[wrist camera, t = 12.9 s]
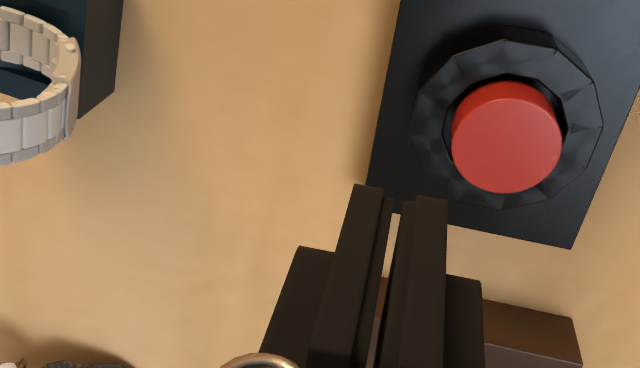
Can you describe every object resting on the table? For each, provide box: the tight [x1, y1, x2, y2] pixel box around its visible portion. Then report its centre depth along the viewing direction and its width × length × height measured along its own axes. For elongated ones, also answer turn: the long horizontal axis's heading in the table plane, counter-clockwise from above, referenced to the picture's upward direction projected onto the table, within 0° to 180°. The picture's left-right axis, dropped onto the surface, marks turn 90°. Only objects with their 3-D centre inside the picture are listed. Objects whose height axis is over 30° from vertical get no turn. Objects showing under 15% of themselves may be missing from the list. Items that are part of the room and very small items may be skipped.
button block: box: [365, 0, 640, 250], centre depth 23 cm, size 11×9×4 cm
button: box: [451, 80, 562, 193], centre depth 21 cm, size 4×4×2 cm
